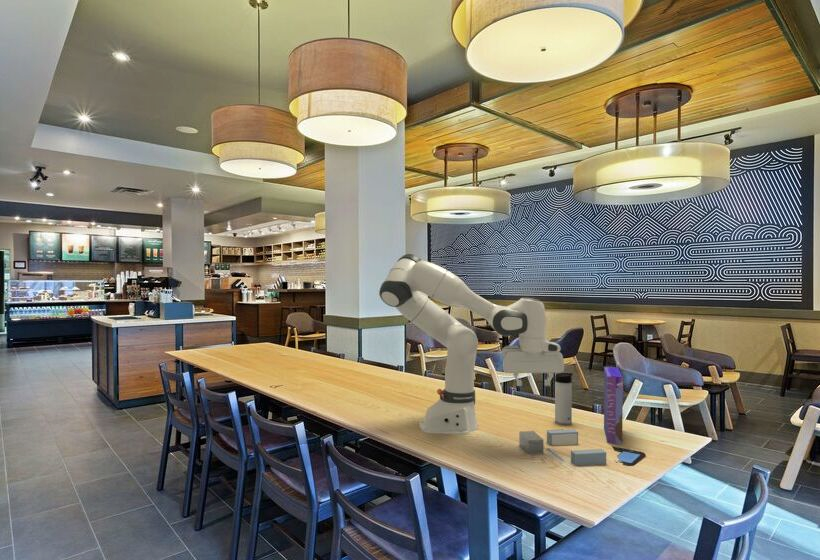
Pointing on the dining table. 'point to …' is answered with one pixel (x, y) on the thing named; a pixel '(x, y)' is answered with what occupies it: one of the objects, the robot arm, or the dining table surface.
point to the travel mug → (563, 398)
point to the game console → (629, 456)
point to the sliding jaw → (562, 437)
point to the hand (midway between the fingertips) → (533, 385)
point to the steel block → (531, 442)
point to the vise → (585, 456)
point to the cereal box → (613, 404)
